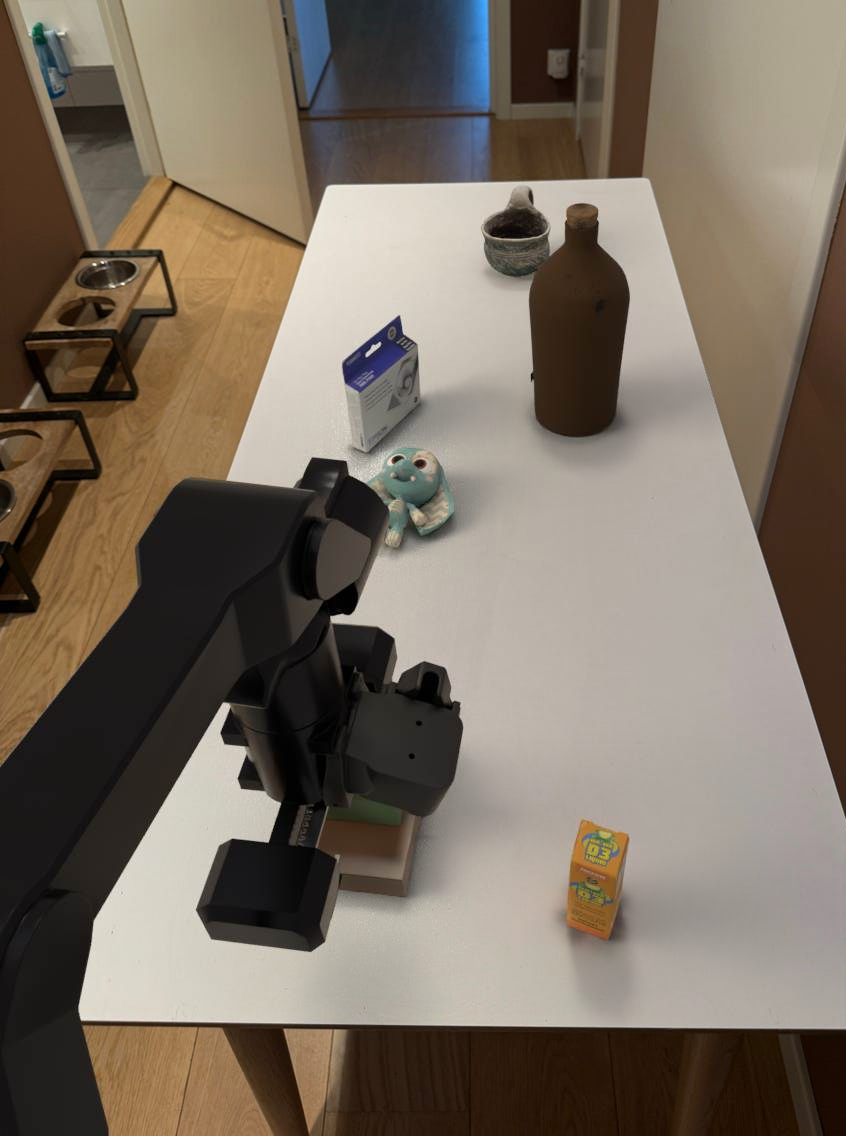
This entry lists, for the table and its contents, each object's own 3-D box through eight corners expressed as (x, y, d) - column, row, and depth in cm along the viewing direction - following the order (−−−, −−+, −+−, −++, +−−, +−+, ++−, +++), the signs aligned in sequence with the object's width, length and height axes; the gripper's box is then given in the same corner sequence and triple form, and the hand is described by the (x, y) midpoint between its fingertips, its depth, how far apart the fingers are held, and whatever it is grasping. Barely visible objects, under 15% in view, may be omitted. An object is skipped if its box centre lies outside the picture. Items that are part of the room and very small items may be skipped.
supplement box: (562, 929, 67) (565, 858, 60) (577, 884, 69) (582, 811, 62) (608, 946, 66) (617, 876, 59) (622, 900, 68) (632, 828, 61)
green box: (294, 815, 71) (280, 769, 67) (308, 768, 74) (295, 721, 70) (400, 826, 70) (392, 779, 66) (410, 778, 73) (402, 730, 69)
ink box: (368, 455, 107) (355, 369, 99) (351, 449, 108) (337, 363, 100) (424, 401, 114) (416, 317, 106) (408, 396, 115) (399, 312, 107)
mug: (481, 287, 134) (478, 219, 127) (484, 244, 143) (482, 180, 136) (550, 286, 133) (551, 218, 126) (549, 243, 142) (550, 178, 136)
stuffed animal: (324, 508, 92) (368, 418, 99) (340, 550, 98) (380, 462, 105) (429, 529, 89) (467, 434, 96) (438, 571, 95) (474, 479, 102)
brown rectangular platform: (420, 900, 69) (417, 882, 67) (257, 881, 70) (250, 863, 68) (447, 754, 78) (445, 735, 76) (302, 739, 79) (297, 720, 77)
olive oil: (638, 407, 111) (657, 203, 95) (586, 453, 105) (596, 244, 89) (564, 376, 117) (570, 178, 100) (510, 418, 111) (506, 215, 94)
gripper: (408, 884, 40) (434, 1024, 50) (472, 564, 54) (482, 726, 64) (155, 854, 41) (232, 997, 52) (280, 550, 55) (321, 711, 65)
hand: (330, 843), depth 58 cm, fingers open, 9 cm apart
